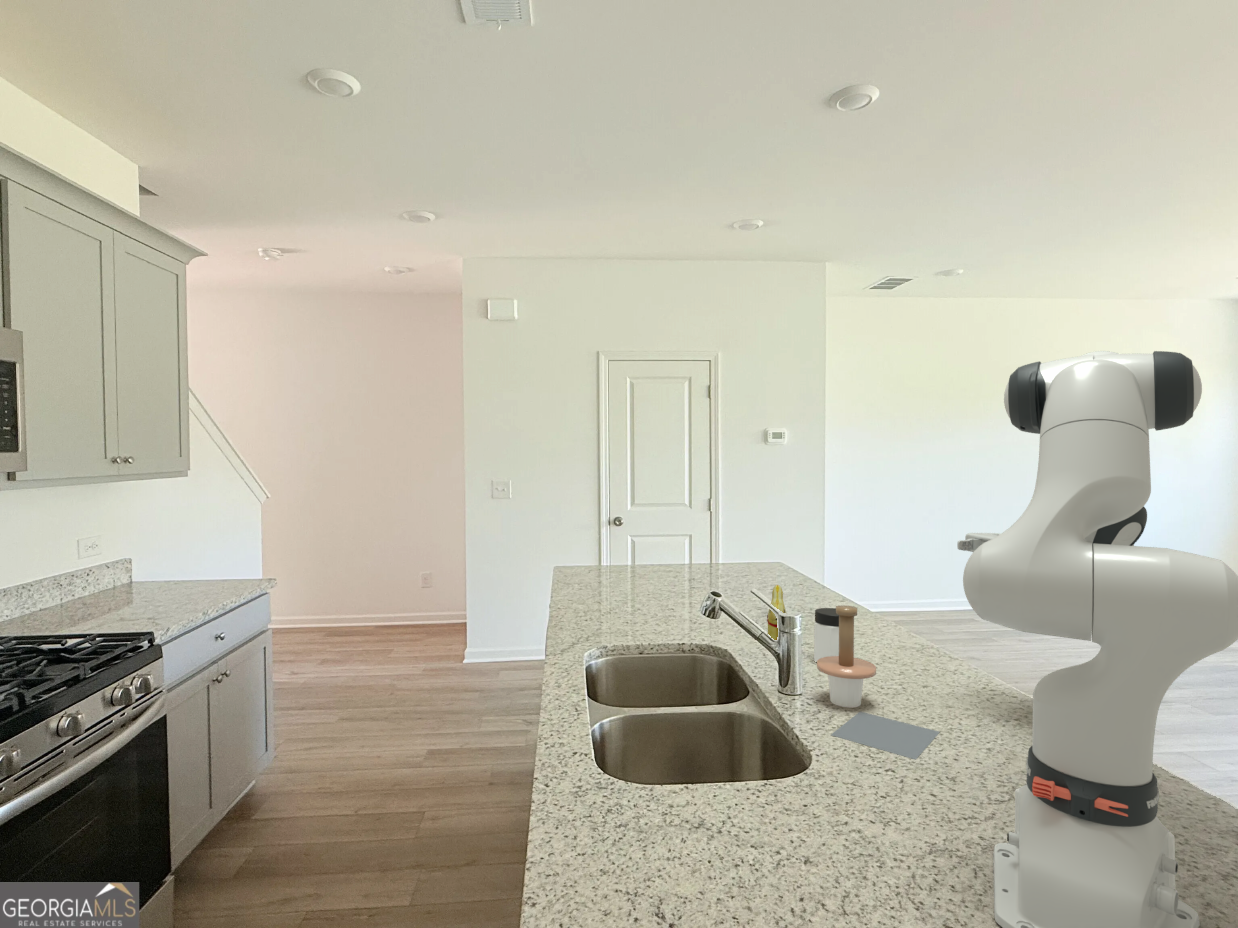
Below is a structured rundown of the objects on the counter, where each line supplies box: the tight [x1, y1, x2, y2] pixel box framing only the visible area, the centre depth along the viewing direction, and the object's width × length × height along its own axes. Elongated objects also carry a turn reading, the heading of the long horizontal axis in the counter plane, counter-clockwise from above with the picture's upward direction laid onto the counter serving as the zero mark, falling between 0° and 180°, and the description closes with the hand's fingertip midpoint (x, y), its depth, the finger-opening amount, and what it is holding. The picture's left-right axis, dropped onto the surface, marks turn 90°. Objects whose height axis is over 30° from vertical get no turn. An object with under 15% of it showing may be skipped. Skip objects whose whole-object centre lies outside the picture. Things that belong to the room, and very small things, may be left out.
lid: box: [816, 604, 877, 680], centre depth 129 cm, size 11×11×12 cm
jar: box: [813, 607, 839, 663], centre depth 156 cm, size 9×8×12 cm
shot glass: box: [827, 675, 864, 708], centre depth 129 cm, size 7×7×7 cm
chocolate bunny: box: [766, 584, 787, 640], centre depth 173 cm, size 7×11×15 cm, turn 166°
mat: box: [830, 710, 941, 761], centre depth 114 cm, size 14×14×1 cm
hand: (977, 549), depth 120 cm, fingers open, 8 cm apart
